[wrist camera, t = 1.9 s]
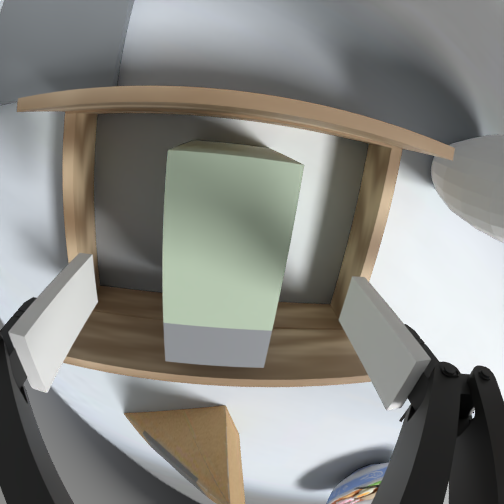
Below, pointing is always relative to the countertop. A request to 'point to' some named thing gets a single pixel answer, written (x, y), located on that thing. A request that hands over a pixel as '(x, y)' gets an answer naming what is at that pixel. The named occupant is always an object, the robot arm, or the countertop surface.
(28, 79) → the slate mat
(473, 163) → the soap bottle
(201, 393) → the countertop surface
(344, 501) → the ramen bowl
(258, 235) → the capped box
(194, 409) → the sandwich container
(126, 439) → the countertop surface
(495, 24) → the countertop surface
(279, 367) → the wooden display shelf
